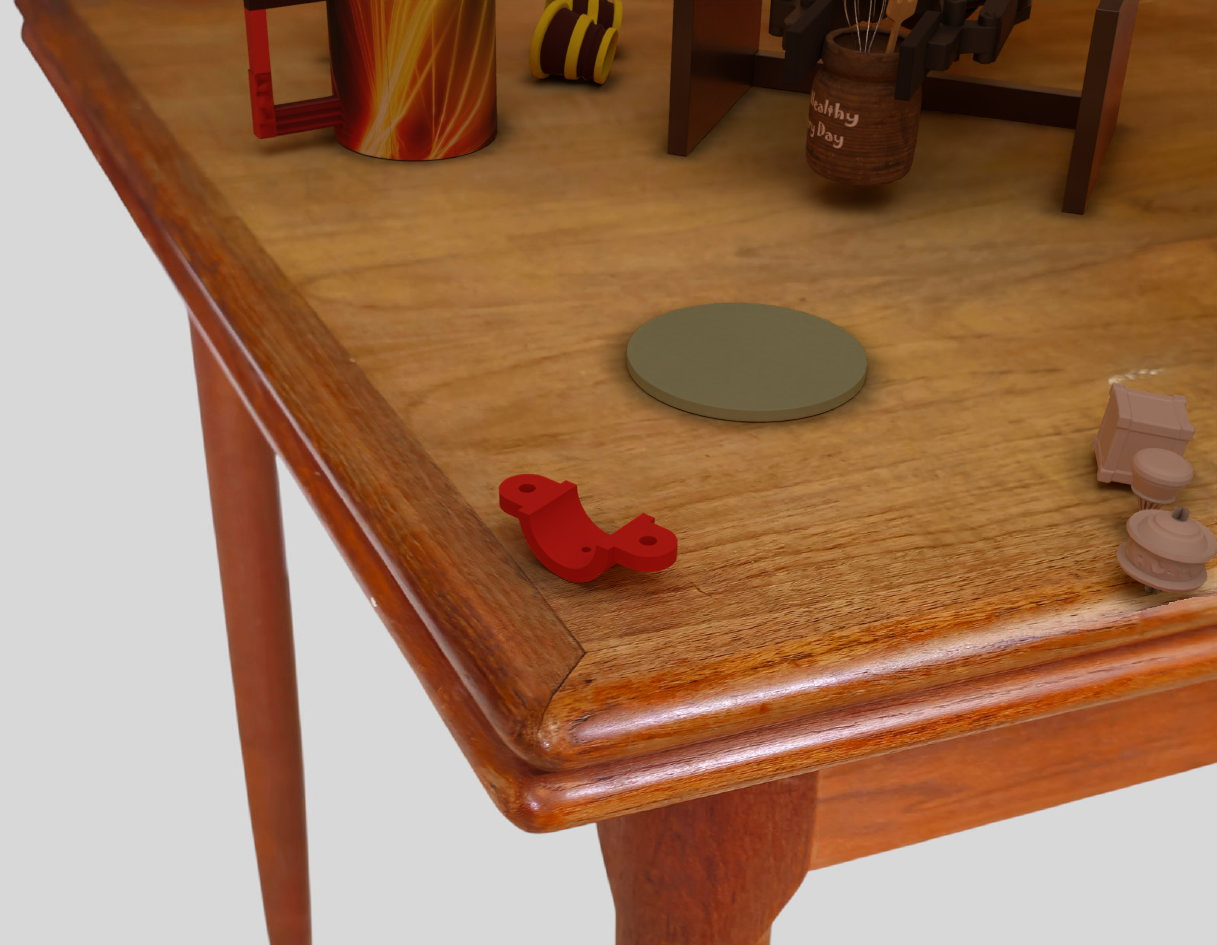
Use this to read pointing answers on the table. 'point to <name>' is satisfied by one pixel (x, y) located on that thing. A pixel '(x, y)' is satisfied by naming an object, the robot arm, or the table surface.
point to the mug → (390, 77)
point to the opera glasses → (576, 39)
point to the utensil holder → (862, 105)
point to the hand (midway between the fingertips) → (847, 65)
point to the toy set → (1154, 488)
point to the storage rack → (731, 62)
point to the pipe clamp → (581, 531)
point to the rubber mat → (746, 362)
